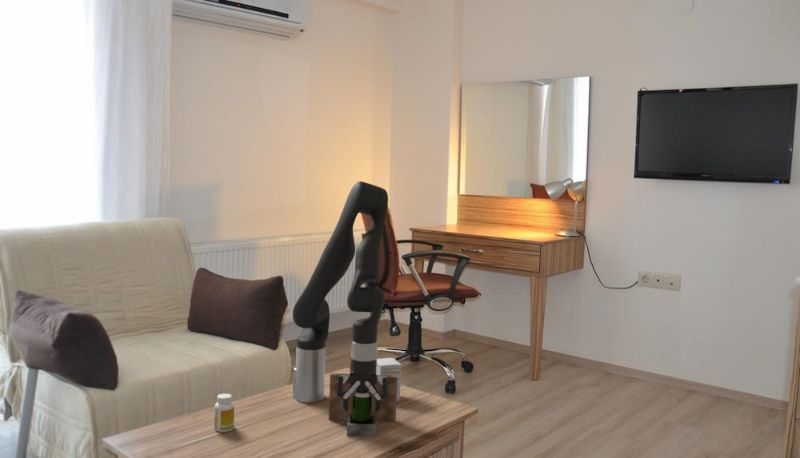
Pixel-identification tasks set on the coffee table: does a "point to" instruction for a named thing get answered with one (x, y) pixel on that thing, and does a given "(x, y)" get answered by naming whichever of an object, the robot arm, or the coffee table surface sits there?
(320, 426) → the coffee table surface
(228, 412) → the supplement bottle
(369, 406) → the beer can
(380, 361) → the supplement box
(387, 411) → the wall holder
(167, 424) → the coffee table surface
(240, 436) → the coffee table surface
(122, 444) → the coffee table surface
